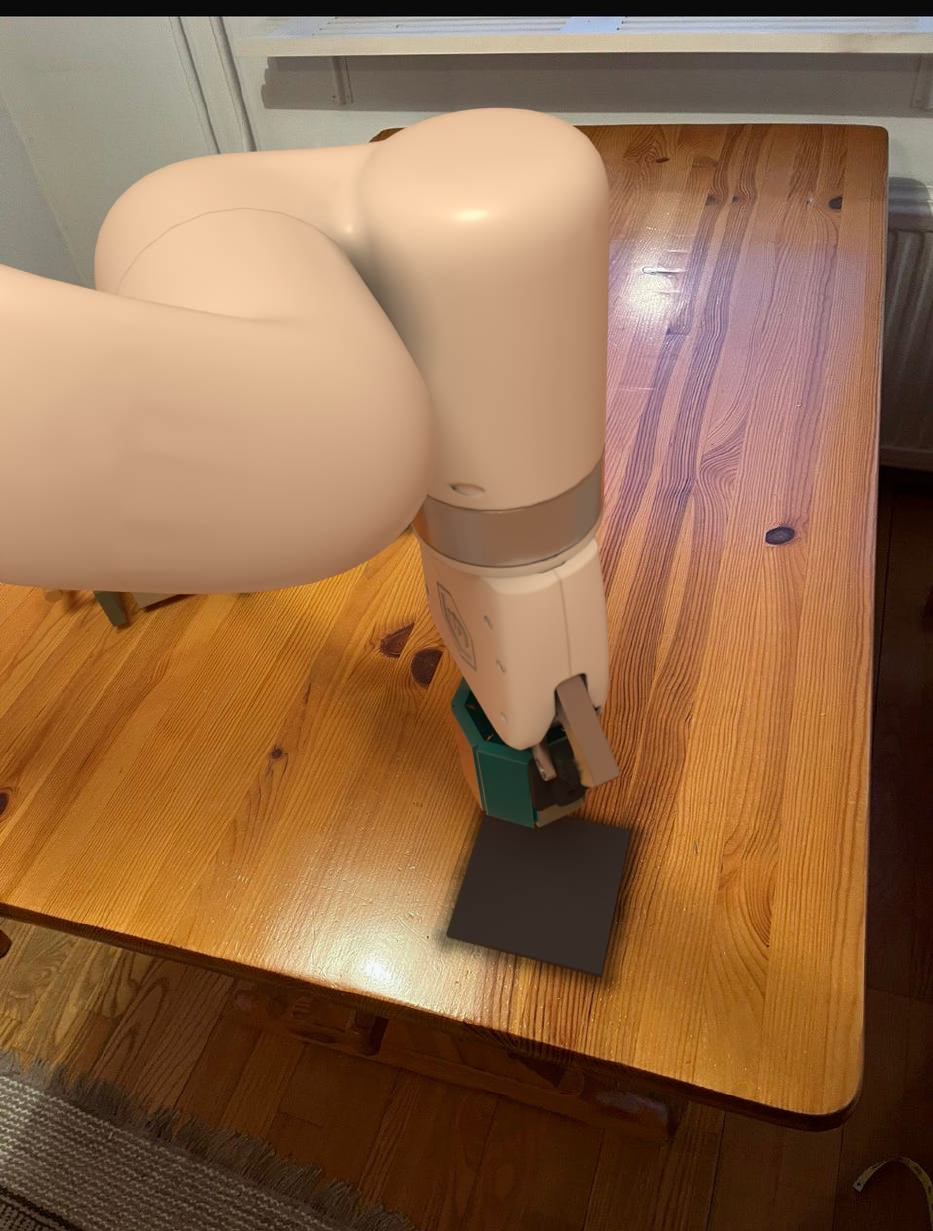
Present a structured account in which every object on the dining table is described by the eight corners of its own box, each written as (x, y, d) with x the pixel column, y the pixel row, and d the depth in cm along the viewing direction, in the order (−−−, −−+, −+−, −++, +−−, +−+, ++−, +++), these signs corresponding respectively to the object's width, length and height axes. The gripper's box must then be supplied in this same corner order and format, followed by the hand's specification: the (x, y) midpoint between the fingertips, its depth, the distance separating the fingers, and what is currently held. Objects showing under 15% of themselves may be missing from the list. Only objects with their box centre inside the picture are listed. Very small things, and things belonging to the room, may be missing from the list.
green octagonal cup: (501, 851, 48) (491, 783, 43) (448, 749, 53) (432, 676, 47) (618, 796, 50) (623, 723, 44) (557, 701, 54) (554, 625, 49)
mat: (447, 937, 60) (446, 934, 59) (489, 802, 66) (488, 798, 65) (601, 978, 57) (601, 974, 57) (630, 833, 63) (630, 829, 63)
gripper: (336, 392, 40) (399, 649, 53) (518, 682, 29) (539, 912, 42) (494, 337, 41) (517, 600, 55) (723, 593, 30) (681, 843, 44)
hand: (526, 735), depth 48 cm, fingers closed on green octagonal cup, 7 cm apart
